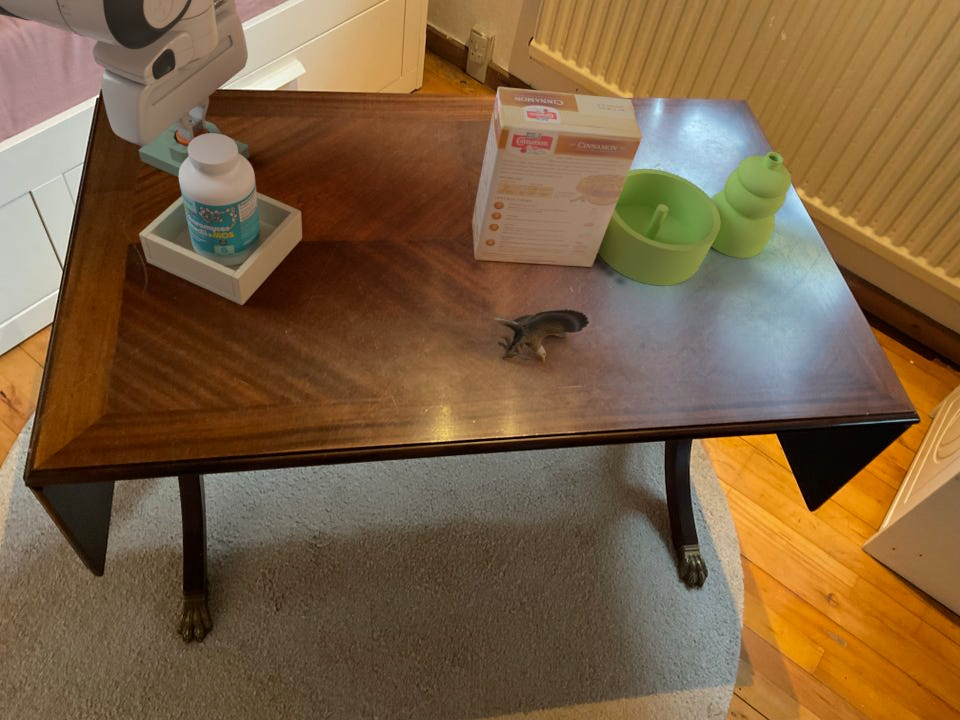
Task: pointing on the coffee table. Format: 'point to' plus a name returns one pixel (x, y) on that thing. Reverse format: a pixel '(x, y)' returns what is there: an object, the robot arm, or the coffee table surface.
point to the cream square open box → (237, 283)
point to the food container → (692, 220)
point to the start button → (186, 142)
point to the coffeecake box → (552, 176)
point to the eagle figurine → (539, 330)
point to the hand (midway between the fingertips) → (193, 133)
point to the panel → (176, 150)
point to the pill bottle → (220, 200)
